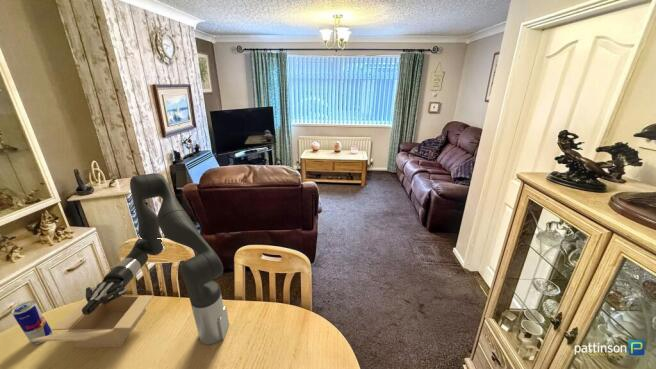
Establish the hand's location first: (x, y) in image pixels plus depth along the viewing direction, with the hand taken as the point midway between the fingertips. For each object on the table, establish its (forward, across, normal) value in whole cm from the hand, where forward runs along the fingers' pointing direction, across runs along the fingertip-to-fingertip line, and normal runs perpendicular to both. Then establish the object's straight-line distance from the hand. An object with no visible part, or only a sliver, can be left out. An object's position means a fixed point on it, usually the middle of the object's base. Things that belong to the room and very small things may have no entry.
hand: (85, 312), depth 79 cm
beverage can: (-3, -21, +15) cm, 26 cm away
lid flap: (+5, 0, +3) cm, 6 cm away
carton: (-6, 0, +15) cm, 16 cm away
